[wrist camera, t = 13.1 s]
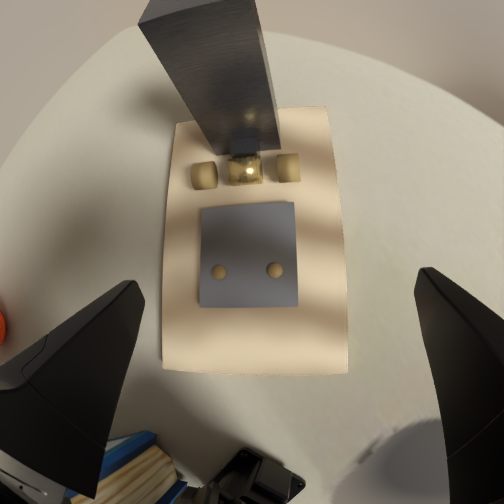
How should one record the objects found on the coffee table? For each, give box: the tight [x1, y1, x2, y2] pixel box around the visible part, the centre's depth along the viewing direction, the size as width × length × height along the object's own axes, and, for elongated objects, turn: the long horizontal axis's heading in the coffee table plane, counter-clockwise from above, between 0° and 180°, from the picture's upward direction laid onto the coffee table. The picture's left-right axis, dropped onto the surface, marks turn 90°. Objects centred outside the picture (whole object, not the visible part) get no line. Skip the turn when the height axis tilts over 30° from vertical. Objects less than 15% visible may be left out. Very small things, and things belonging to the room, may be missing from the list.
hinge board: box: [162, 106, 348, 376], centre depth 22 cm, size 22×14×3 cm, turn 1°
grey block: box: [138, 0, 281, 186], centre depth 17 cm, size 6×6×14 cm
